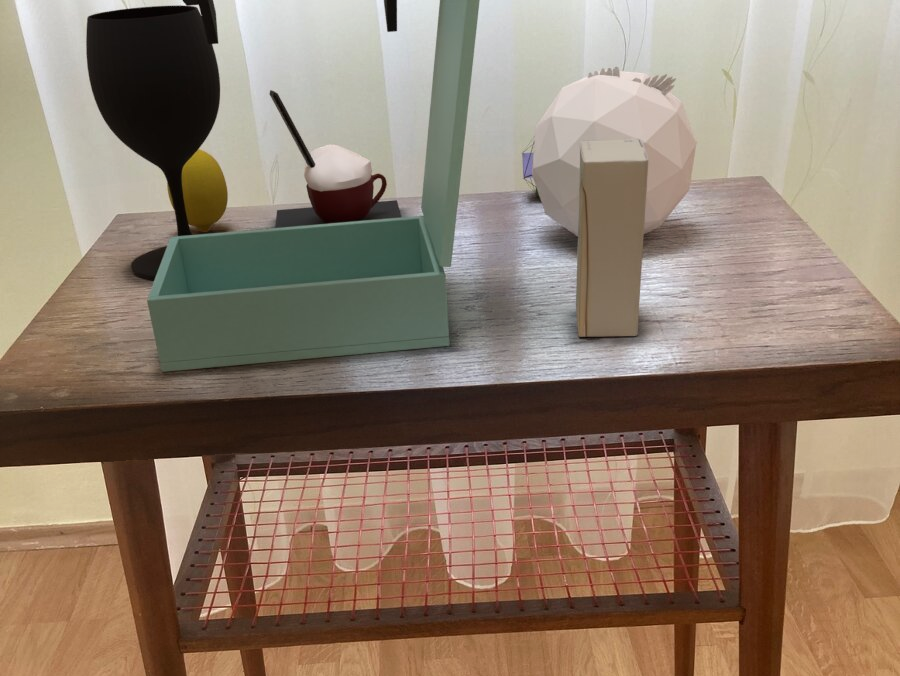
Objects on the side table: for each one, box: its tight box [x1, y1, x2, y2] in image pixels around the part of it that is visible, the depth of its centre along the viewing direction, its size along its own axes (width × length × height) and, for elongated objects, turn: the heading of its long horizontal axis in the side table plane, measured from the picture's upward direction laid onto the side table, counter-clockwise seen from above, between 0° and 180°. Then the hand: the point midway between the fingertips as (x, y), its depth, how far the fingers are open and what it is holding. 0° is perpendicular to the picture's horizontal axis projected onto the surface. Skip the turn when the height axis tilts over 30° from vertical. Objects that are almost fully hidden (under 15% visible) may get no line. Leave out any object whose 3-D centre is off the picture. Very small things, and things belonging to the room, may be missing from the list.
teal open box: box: [146, 215, 451, 373], centre depth 83 cm, size 20×15×5 cm
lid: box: [420, 0, 481, 268], centre depth 76 cm, size 21×15×4 cm
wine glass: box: [85, 4, 221, 281], centre depth 93 cm, size 10×10×20 cm
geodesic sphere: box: [532, 66, 698, 237], centre depth 94 cm, size 15×14×14 cm
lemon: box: [166, 148, 229, 233], centre depth 105 cm, size 6×6×8 cm
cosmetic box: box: [575, 138, 648, 338], centre depth 77 cm, size 6×4×12 cm
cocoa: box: [269, 89, 388, 224], centre depth 101 cm, size 10×6×12 cm, turn 91°
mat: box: [274, 199, 402, 228], centre depth 105 cm, size 12×12×1 cm
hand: (301, 22), depth 84 cm, fingers open, 13 cm apart
